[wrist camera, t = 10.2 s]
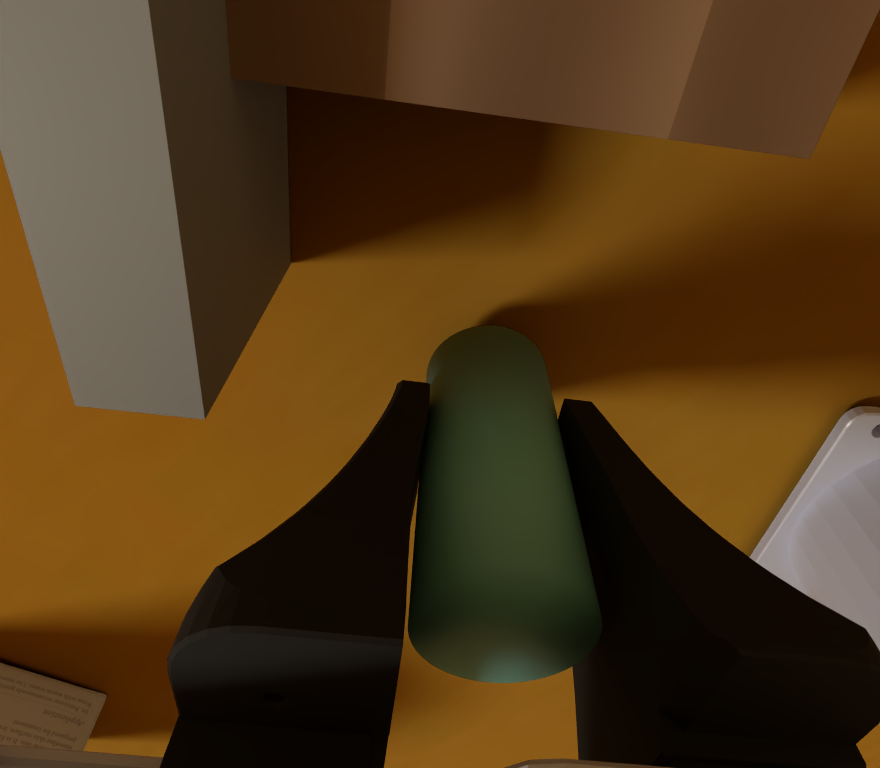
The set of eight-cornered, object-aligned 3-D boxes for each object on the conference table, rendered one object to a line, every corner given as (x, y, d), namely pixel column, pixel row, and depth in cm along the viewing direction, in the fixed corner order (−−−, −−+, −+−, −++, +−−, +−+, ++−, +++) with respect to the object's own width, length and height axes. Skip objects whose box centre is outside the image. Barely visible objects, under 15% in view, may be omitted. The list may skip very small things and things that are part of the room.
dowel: (558, 333, 14) (626, 580, 8) (532, 429, 16) (575, 689, 10) (434, 318, 14) (417, 559, 8) (421, 417, 16) (399, 674, 10)
